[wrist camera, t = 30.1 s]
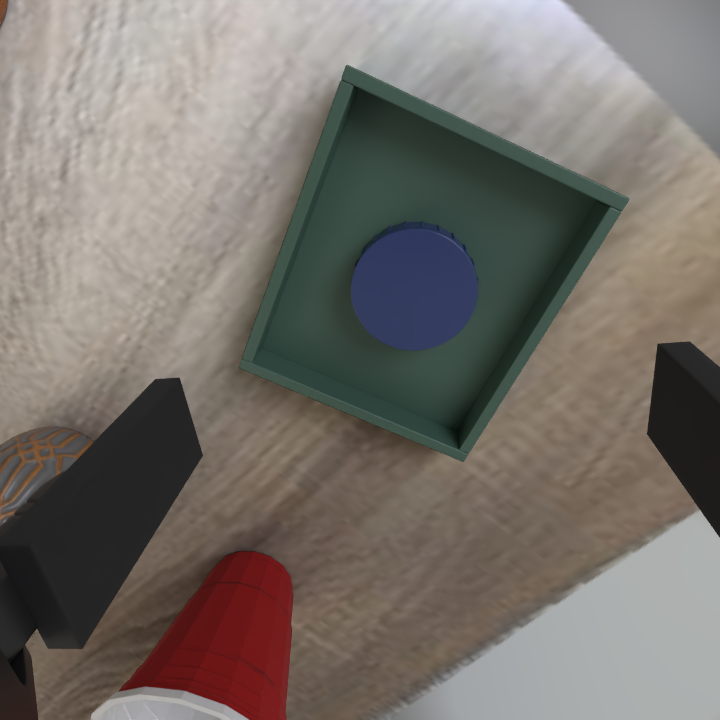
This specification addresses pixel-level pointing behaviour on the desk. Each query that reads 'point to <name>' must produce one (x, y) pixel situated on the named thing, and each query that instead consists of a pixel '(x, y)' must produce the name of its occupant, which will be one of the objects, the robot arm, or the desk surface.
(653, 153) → the desk surface
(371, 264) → the jar lid
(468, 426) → the tray
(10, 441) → the vase
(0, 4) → the jam jar
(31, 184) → the desk surface
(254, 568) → the plastic cup
